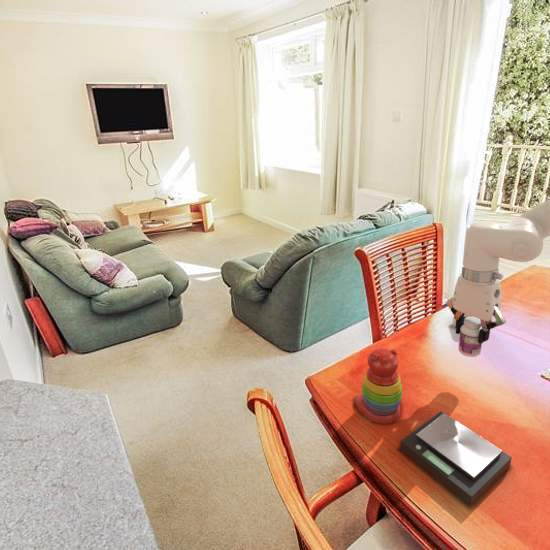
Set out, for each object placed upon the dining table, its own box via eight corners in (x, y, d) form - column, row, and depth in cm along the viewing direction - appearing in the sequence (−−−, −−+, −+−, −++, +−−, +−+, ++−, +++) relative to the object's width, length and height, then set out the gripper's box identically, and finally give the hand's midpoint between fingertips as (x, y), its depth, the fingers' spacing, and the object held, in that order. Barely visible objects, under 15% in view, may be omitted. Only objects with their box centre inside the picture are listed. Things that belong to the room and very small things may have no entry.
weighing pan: (502, 453, 76) (502, 450, 75) (473, 480, 71) (474, 477, 71) (444, 415, 86) (444, 412, 85) (415, 437, 81) (416, 434, 81)
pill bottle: (458, 344, 102) (461, 313, 99) (480, 347, 100) (484, 316, 96) (457, 355, 98) (461, 323, 94) (480, 359, 96) (485, 327, 92)
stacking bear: (391, 391, 99) (394, 335, 92) (410, 420, 90) (416, 359, 82) (352, 399, 97) (352, 342, 90) (368, 429, 88) (369, 368, 81)
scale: (509, 467, 76) (512, 456, 75) (469, 507, 70) (472, 495, 68) (439, 420, 89) (440, 410, 87) (400, 450, 82) (400, 439, 81)
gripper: (525, 278, 85) (513, 345, 92) (455, 259, 99) (449, 319, 106) (507, 288, 82) (496, 357, 89) (437, 268, 95) (433, 329, 102)
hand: (471, 336), depth 97 cm, fingers closed on pill bottle, 5 cm apart
